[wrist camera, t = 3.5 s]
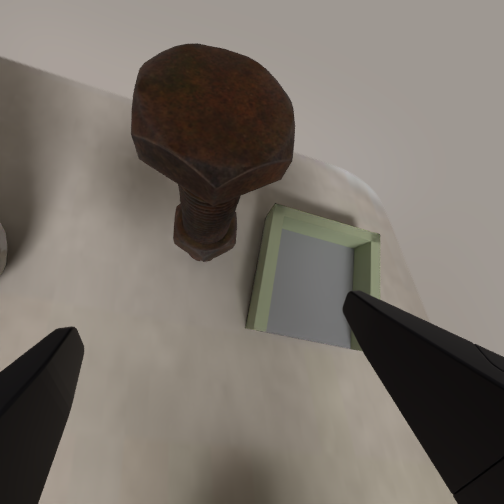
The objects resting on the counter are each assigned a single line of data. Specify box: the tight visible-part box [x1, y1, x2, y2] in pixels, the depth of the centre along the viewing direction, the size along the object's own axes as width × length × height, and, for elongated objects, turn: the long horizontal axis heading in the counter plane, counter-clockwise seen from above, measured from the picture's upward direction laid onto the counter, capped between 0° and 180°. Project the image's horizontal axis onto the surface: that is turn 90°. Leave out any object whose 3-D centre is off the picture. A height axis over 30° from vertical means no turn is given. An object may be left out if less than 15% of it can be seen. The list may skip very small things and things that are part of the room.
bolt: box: [131, 44, 295, 262], centre depth 14 cm, size 6×5×15 cm
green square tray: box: [245, 203, 380, 351], centre depth 21 cm, size 11×11×3 cm
